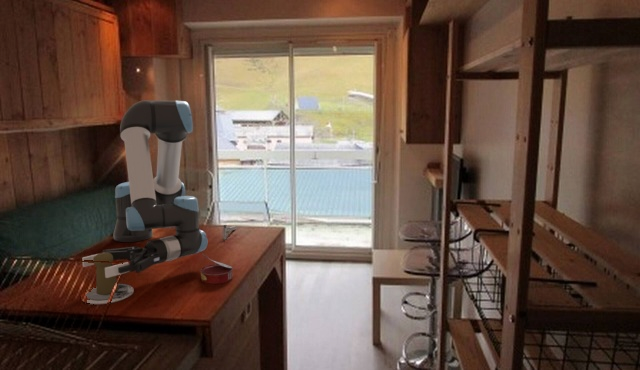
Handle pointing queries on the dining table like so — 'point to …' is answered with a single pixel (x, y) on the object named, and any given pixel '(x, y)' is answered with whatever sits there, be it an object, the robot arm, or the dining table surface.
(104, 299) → the seat plate
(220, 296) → the dining table surface
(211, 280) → the canned food
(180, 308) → the dining table surface
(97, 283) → the cork
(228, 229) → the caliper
